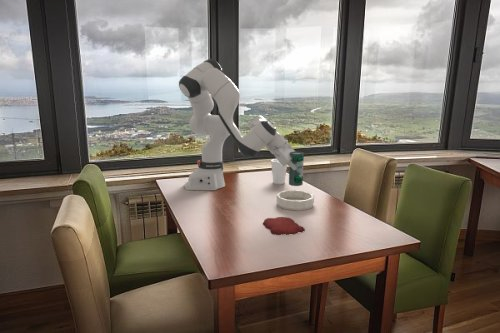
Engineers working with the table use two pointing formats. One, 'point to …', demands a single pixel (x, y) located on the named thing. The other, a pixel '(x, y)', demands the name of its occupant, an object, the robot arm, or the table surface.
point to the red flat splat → (282, 226)
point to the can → (297, 174)
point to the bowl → (295, 200)
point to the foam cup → (278, 171)
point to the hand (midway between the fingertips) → (297, 167)
